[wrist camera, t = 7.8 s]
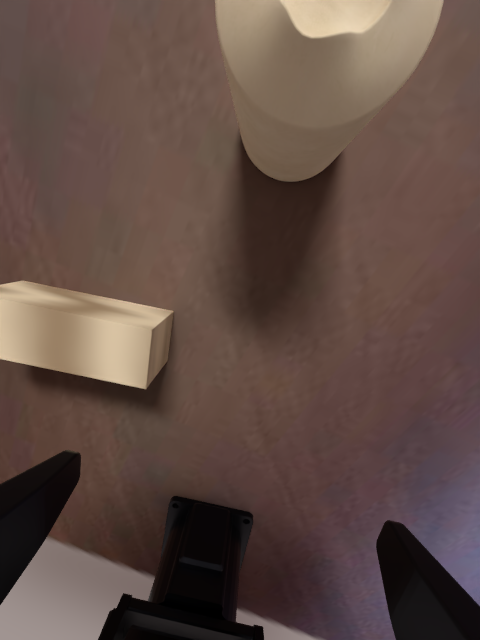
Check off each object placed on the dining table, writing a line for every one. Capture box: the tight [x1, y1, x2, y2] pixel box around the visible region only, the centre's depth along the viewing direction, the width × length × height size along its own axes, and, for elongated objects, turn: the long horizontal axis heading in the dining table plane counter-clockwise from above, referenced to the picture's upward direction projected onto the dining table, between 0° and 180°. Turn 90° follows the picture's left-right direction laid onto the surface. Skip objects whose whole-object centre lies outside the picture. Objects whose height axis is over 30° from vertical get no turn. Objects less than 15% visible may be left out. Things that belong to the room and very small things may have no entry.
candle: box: [215, 0, 444, 182], centre depth 11 cm, size 6×6×10 cm
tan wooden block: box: [0, 281, 174, 389], centre depth 18 cm, size 10×4×4 cm, turn 79°
